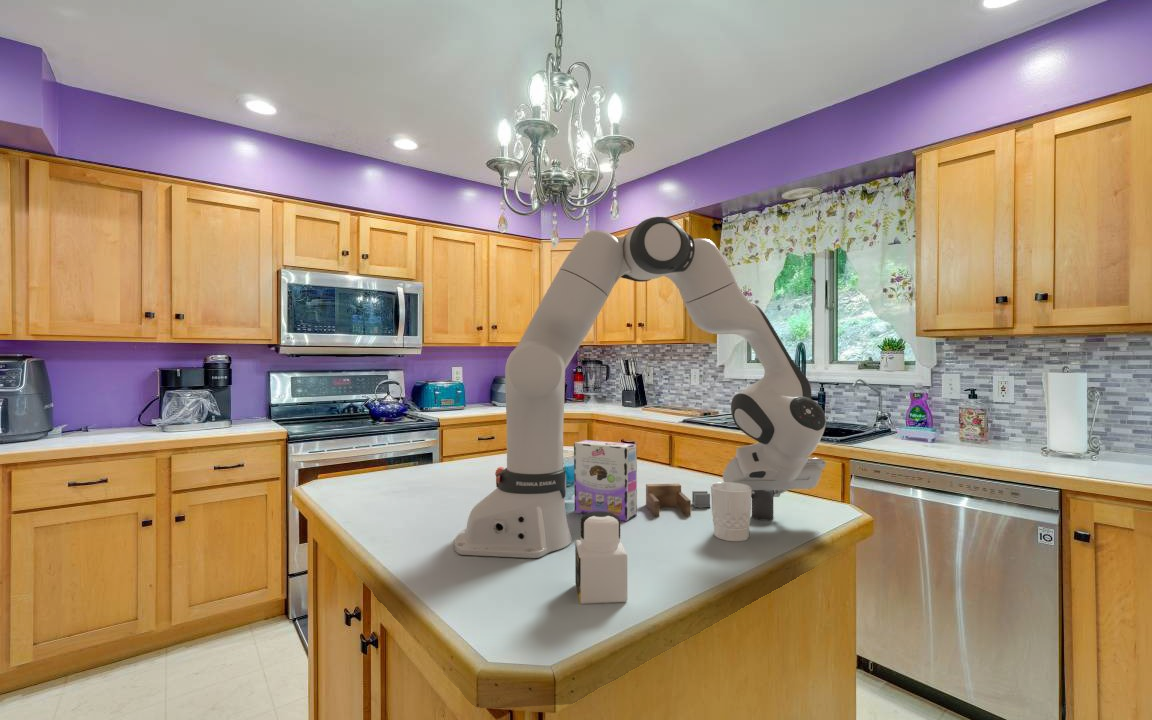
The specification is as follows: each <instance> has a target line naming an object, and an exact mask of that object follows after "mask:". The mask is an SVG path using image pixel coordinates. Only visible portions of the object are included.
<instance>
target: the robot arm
mask: <svg viewBox="0 0 1152 720" xmlns="http://www.w3.org/2000/svg"><path fill="white" fill-rule="evenodd" d="M662 277H666V278H668V279H669V280H670V281H672V282H673V284H674V285H675V287H676V288H677V289H678V291H679V295H680V297H681V299H682V301H683V303H684V304H683V305H684V307H685V308H686V311H687V314H688V316H689V318H690V319H691V321H692V323H694V324H693V325H695V326H696V327H697V328H698V329H700V330H702V331H703V332H705V333H709V334H713V335H737V336H740V337H742V338H743V339H745V340H746V341H747V342H748V344H749V345H750V347H751V350H752V351H753V352H754V354H755V355H756V357H757V359H758V360H759V362H760V364H761V365H762V368H763V369H764V375H763V377H762V378H760V379H759V380H757V381H756V382H754V383H752V384H750V385H748V386H747V387H744V389H742V390H741V391H739V392H738V393H737V394H735V395H734V396H733V397H732V399H731V402H730V413H731V416H732V420H733V421H734V425H735V426H736V427H737V428H738V429H739V430H740V431H741V432H742V433H744V434H745V435H746V436H748V437H750V438H751V439H752V440H754V441H756V443H752V444H750V445H743V446H739V447H737V448H736V450H735V454H736V456H734V457H732V458H731V459H730V460H729V462H728V463H727V465H726V467H725V468H724V471H723V474H722V480H723V481H722V482H734V483H741V484H746V485H748V486H750V487H751V488H752V494H751V498H752V497H753V496H754V495H755V493H754V491H753V490H773V498H780V496H781V494H784V493H787V491H790V490H812V489H815V488H816V487H817V485H818V484H819V481H820V480H821V477H822V471H823V470H824V469H825V467H826V466H827V462H826V460H825V459H822V458H820V457H814V458H813V457H809V456H811V455H812V454H814V451H816V449H817V447H818V446H819V443H820V442H821V439H822V437H823V435H824V432H825V430H826V424H827V421H826V413H825V412H824V410H823V407H821V405H820V404H818V402H817V401H815V400H813V399H812V387H811V383H810V381H809V379H808V377H807V376H806V375H805V374H804V372H803V371H802V370H801V369H800V367H798V366H797V364H796V363H795V362H794V360H793V358H792V357H791V356H790V354H789V352H788V351H787V349H786V347H785V344H784V343H783V342H782V340H781V339H780V337H779V335H778V333H777V332H776V330H775V329H774V327H773V325H772V323H771V322H770V320H769V318H768V317H767V315H766V314H765V313H764V311H763V310H762V309H761V308H760V307H759V305H757V304H756V303H754V302H751V301H750V300H749V299H748V298H747V297H746V295H745V294H744V293H743V292H742V290H741V289H740V287H739V285H738V283H737V281H736V279H735V277H734V273H733V272H732V270H731V268H730V266H729V264H728V263H727V260H726V259H725V257H724V256H723V254H722V253H721V251H720V249H719V248H718V247H717V245H716V244H715V242H713V241H712V240H710V239H708V238H702V237H701V238H693V237H692V236H691V234H689V233H688V232H686V231H685V230H684V229H683V228H682V227H681V225H680V224H679V223H677V222H676V221H674V220H673V219H671V218H668V217H664V216H654V217H649V218H647V219H644V220H643V221H641V222H640V223H639V224H638V225H636V226H635V227H633V228H632V229H631V230H629V231H628V232H627V233H626V234H624V236H620V237H619V236H614V235H613V234H611V233H609V232H607V231H604V230H597V229H596V230H595V229H594V230H590V231H588V232H586V233H585V234H584V235H583V236H582V237H581V238H580V239H579V240H578V241H577V243H576V244H575V245H574V247H573V248H572V249H571V251H569V253H568V255H567V256H566V258H565V259H564V260H563V262H562V263H561V266H560V267H559V269H558V271H557V273H556V275H555V276H554V279H553V280H552V282H551V283H550V285H549V287H548V289H547V290H546V293H545V294H544V296H543V298H542V299H541V301H540V302H539V304H538V307H536V308H537V309H536V310H535V311H534V315H533V316H532V318H531V320H530V322H529V323H528V325H527V327H526V330H525V331H524V333H523V335H522V336H521V339H520V340H519V342H518V344H517V346H516V347H515V348H514V349H513V350H511V352H510V354H509V355H508V357H507V360H506V363H505V368H504V369H505V370H504V373H505V374H504V376H505V377H504V380H505V381H504V382H505V413H506V416H505V417H506V418H505V419H506V421H505V422H506V468H504V467H503V466H499V467H498V468H496V469H495V472H494V473H495V487H496V488H495V489H494V490H493V491H492V492H490V493H489V494H488V495H486V496H485V497H484V498H483V499H481V500H480V501H479V502H477V503H476V504H475V505H474V507H473V508H472V509H471V511H470V513H469V516H468V517H467V518H468V519H467V524H466V528H464V529H462V530H461V531H460V532H459V533H458V534H457V535H456V537H455V539H454V545H453V546H454V551H455V552H456V553H457V554H459V555H462V556H479V557H480V556H484V557H501V558H502V557H504V558H505V557H506V558H527V559H536V558H537V559H538V558H542V557H543V556H546V555H547V554H549V553H551V552H554V551H558V550H561V549H564V548H566V547H567V546H568V545H570V544H571V543H572V541H573V538H572V535H571V530H570V528H569V524H568V519H567V518H568V517H567V511H566V510H567V509H566V504H565V502H566V501H565V498H566V493H567V474H566V468H565V467H564V420H565V417H564V416H565V386H566V384H565V383H566V369H567V368H568V366H569V364H570V363H571V361H572V359H573V357H574V356H575V355H576V353H577V351H578V350H579V347H580V346H581V345H582V343H583V341H584V340H585V338H586V337H587V335H588V334H589V331H590V330H591V328H592V326H593V325H594V323H595V322H596V320H597V318H598V316H599V315H600V312H601V311H602V308H603V307H604V306H605V303H606V301H607V300H608V298H609V296H610V294H611V292H612V290H613V288H614V287H615V285H616V284H617V282H618V281H619V280H620V278H621V279H626V280H630V281H634V282H637V283H638V282H643V283H644V282H648V281H651V280H654V279H655V280H656V279H659V278H662Z"/></svg>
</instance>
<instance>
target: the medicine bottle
mask: <svg viewBox="0 0 1152 720" xmlns="http://www.w3.org/2000/svg"><path fill="white" fill-rule="evenodd" d="M574 545H575V548H574V549H575V551H574V552H575V553H574V554H575V561H574V562H575V565H574V566H575V576H574V577H575V581H574V582H575V587H576V593H577V598H578V602H579V604H580V605H587V604H609V603H610V604H613V603H616V604H617V603H627V601H628V554H627V552H626V549H625V548H624V546H623V544H622V541H621V520H620V518H619V517H618V516H617V515H615V514H613V513H610V512H604V511H595V512H590V513H587V514H582V517H581V518H580V539H576V540H575V543H574Z"/></svg>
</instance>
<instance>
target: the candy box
mask: <svg viewBox="0 0 1152 720" xmlns="http://www.w3.org/2000/svg"><path fill="white" fill-rule="evenodd" d="M637 449H638V448H637V444H634V443H625V442H613V441H604V440H603V441H602V440H600V441H599V440H591V439H590V440H589V439H585V440H581V441H580V440H579V441H577V442H574V443H573V468H574V469H573V475H574V477H573V481H574V482H573V483H574V484H573V485H574V510H573V511H574V513H576V514H581V515H585V514H587V513H590V512H595V511H604V512H610V513H613V514H615V515H617V516H618V517H619V518H620V521H623V522H627V521H629V520H631V519H633V518H634V517H636V516H637V515H638V498H637V497H638V488H637V487H638V477H637V476H638V474H637V472H638V471H637V470H638V468H637V467H638V465H637V464H638V463H637V462H638V460H637V458H638V456H637V455H638V454H637V453H638V452H637Z"/></svg>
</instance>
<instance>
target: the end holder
mask: <svg viewBox="0 0 1152 720" xmlns="http://www.w3.org/2000/svg"><path fill="white" fill-rule="evenodd" d="M645 506H646V507H647V506H648V507H647V508H648V510H649V511H650V510H651V511H650V513H652V515H653V516H654V517H655V518H656V517H657V518H658V517H659V518H660V507H659V506H670V507H677V506H678V507H679V508H680V509H681V510H680V509H679V508H678V507H677V508H678V509H679V510H680V511H681V513H683V514H684V515H685V517H691V516H692V513H691V511H692V508H691V507H692V499H690V498H689V497H687V496H686V495H685V494H684V493H683V492H682V485H681V484H680V483H650V484H649V483H648V484H645Z"/></svg>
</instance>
